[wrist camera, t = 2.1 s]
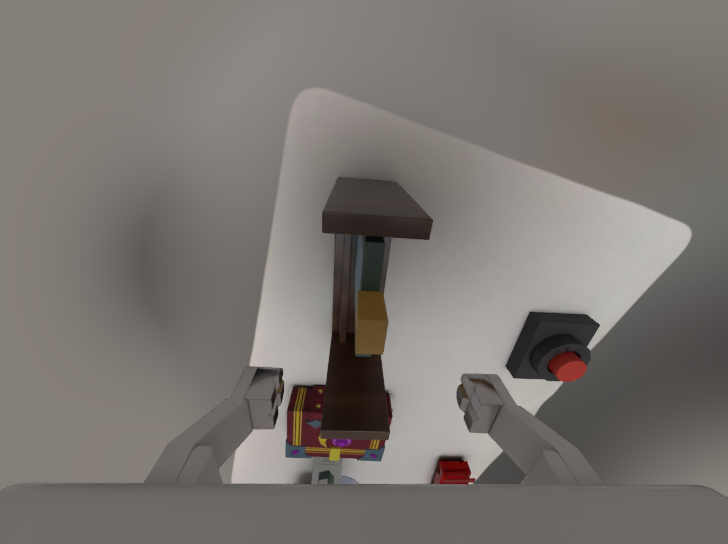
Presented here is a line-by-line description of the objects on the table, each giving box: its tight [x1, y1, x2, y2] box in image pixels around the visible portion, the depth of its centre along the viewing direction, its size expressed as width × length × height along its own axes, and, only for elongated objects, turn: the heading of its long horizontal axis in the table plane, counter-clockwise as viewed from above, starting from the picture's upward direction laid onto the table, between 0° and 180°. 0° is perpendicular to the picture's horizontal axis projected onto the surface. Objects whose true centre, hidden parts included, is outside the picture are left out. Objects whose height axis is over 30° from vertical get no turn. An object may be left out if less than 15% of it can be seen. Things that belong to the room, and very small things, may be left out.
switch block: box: [506, 312, 600, 381], centre depth 35 cm, size 10×8×4 cm
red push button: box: [548, 351, 587, 382], centre depth 33 cm, size 4×4×2 cm
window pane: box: [355, 235, 388, 357], centre depth 21 cm, size 9×2×15 cm, turn 175°
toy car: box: [433, 460, 475, 484], centre depth 50 cm, size 14×6×5 cm, turn 177°
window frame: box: [320, 177, 433, 440], centre depth 25 cm, size 20×6×14 cm, turn 175°
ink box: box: [311, 457, 342, 484], centre depth 43 cm, size 9×5×12 cm, turn 174°
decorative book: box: [286, 386, 394, 461], centre depth 40 cm, size 11×16×5 cm
